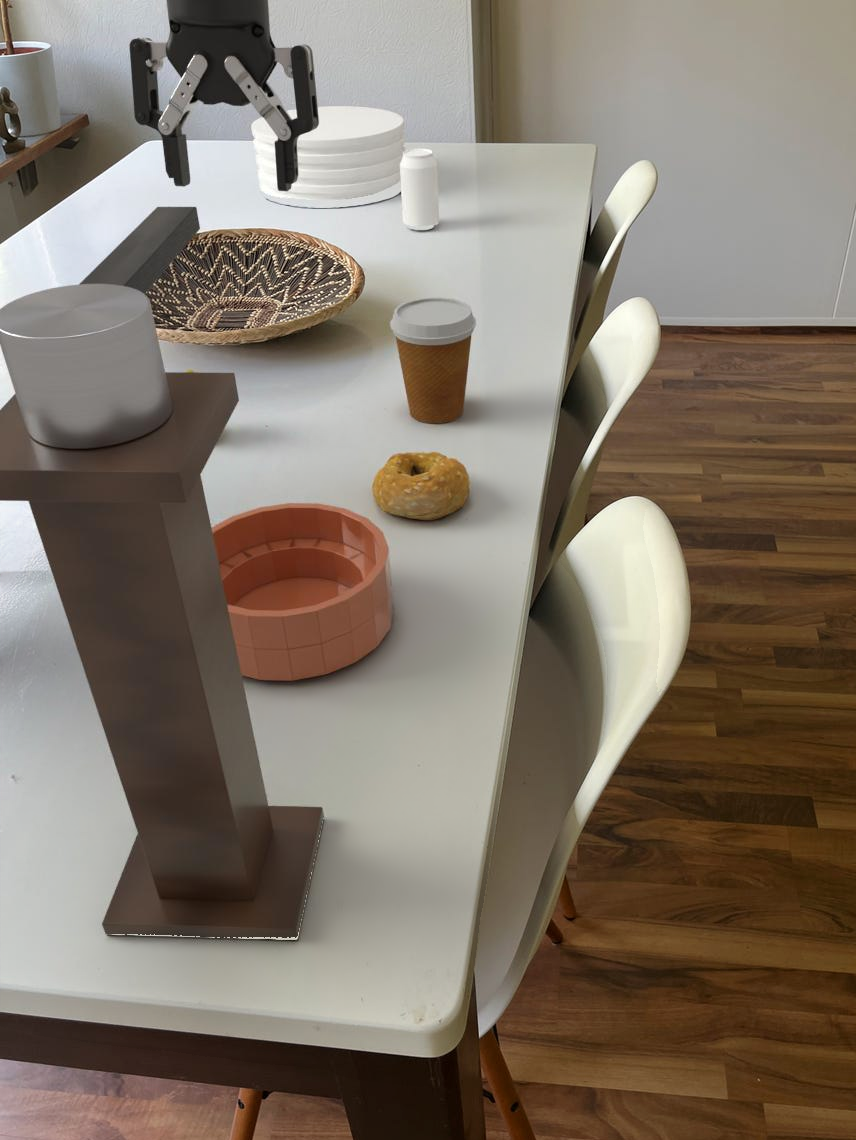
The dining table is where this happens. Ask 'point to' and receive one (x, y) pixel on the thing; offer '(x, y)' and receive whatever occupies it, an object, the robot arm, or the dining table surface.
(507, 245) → the dining table surface
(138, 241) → the metal mallet
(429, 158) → the beverage can
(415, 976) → the dining table surface
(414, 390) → the disposable coffee cup
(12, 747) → the dining table surface
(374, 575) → the bowl
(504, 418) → the dining table surface
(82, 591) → the stand
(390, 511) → the bagel
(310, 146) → the plate stack
